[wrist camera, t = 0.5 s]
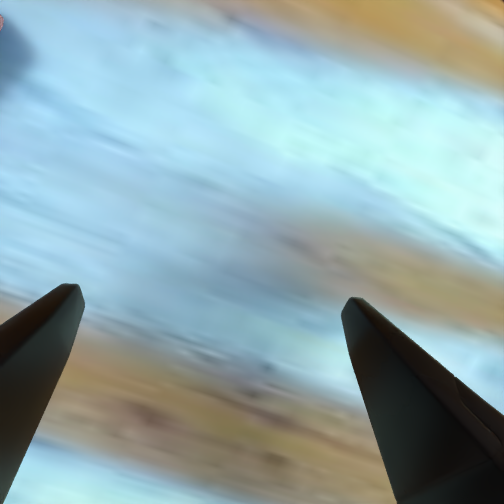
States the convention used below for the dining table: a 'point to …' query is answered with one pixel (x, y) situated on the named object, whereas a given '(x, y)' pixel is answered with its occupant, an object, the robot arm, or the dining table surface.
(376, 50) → the dining table surface
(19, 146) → the dining table surface
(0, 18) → the video game controller
